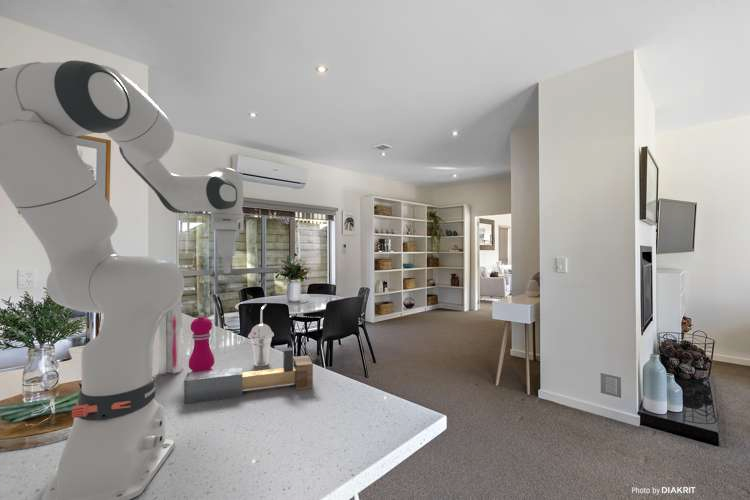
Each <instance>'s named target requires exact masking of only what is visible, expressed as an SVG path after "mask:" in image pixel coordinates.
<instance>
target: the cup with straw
mask: <svg viewBox="0 0 750 500" xmlns="http://www.w3.org/2000/svg"><path fill="white" fill-rule="evenodd" d="M267 305H268V304H267V303H264V304H263V306H262V307H261V308H260V314H259V315H260V317H259V318H260V319H259V320H260V321H259V322H260V323H258V324H256V325H254V326H253V327H252V328H251V331H250V333H249V334H248V335H247V338H248V339H250V343H251V344H250V345H251V348H252V357H253V364H254V367H264V366H267V365H268V364H269V359H270V350H271V343H272V338H273V337H274V336H275V334H274V332H273V331H272V328H271V327H270V325H269V324H267V323H263V310H264V309H265V308H266V306H267Z"/></svg>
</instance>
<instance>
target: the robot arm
mask: <svg viewBox="0 0 750 500" xmlns="http://www.w3.org/2000/svg"><path fill="white" fill-rule="evenodd" d="M92 134H105V135H106V136H108V137H109V138H110V139H112V141H114V143H116V145H118V146H119V147H118V148H119V152H120V155H121V157H122V158H123V159H124V161H125V162H126V164H127V165H128V167H130V168H131V170H133V171H134V172H135V173H136V174H137V175H138V177H140V178H141V179H142V180H143V181H144V182H145V183H146V184H147V185H148V187H150V188H151V190H152V191H153V192H154V193H155V194H156V195H157V197H158V199H159V200H160V202H161V204H162V205H163V206H164V208H166V209H167V210H169V211H170V212H172V213H174V214H175V213H176V214H180V213H189V212H210V213H211V214H210V218H211V219H210V221H211V223H210V224H211V225H210V226H211V228H210V230H211V231H215V237H216V245H217V253H218V256H219V258H222V265H223V267H222V268H223V273H224V274H230V273H231V271H232V270H233V259H234V257H235V255H236V240H237V239H236V238H237V237H240V232H243V231H244V228H245V227H244V226H245V225H244V219H245V218H244V212H243V211H244V210H243V204H244V186H243V185H244V184H243V179H242V175H241V173H240V172H239V171H237V170H236V169H233V168H229V167H225V166H224V167H220V166H219V167H216V168H214V170H213V171H212V172H211V173H208V174H200V175H179V174H174V173H172V172H171V171H169V169H168V168H167V167H166V166H165V164H163V162H162V161H161V159H162V158H164V157H165V156H166V155H167V154H168V152H169V151H170V150H171V148H172V146H173V143H174V140H175V131H174V126H173V125H172V123H171V121H170V119H169V117H167V115H166V114H165V113H164V112H163V111H162V110H161V109H160V107H159V106H158V105H157V104H156V103H155V102H154V101H153V100H152V99H151V98H150V97H149V96H148V95H147V93H145V92H144V91H143V90H142V89H141V88H140V87H138V85H137V84H135V83H134V82H133V81H132V80H130V79H129V78H128V77H126V75H124V74H123V73H121V72H120V71H119V70H117V69H116V68H114V67H112V66H108V65H104V64H103V65H101V64H97V63H94V62H90V61H84V60H67V61H65V62H61V61H60V62H59V61H58V62H54V61H53V62H52V61H51V62H50V61H49V62H41V61H34V62H28V63H22V64H16V65H14V66H10V67H0V186H1V188H2V190H3V191H4V193H5V194H6V196H7V197H8V199H9V200H10V201H11V203H12V205H13V206H14V207H15V209H16V210H17V211H18V212H19V214H20V216H21V217H22V218H23V220H24V221H25V222H26V224H27V225H28V226H29V228H30V229H31V230H32V232H33V233H34V235H35V236H36V237H37V239H38V240H39V242H40V243H41V246H42V247H43V249H44V251H45V253H46V255H47V258H48V261H49V264H50V268H51V270H50V272H49V274H48V277H47V279H46V292H47V295H48V297H49V298H50V299H51V300H52V301H53V302H54V303H55V304H57V305H59V306H61V307H65V308H66V309H69V310H73V311H76V312H82V313H97V314H103V320H102V324H101V327H100V330H99V332H98V334H97V336H95V337H94V338H92V339H91V340H89V341H88V342H87V343H86V344H85V345H84V347H83V348H82V350H81V355H80V358H81V359H80V361H81V368H80V369H81V389H80V390H79V392H78V396H77V397H78V399H77V401H76V404H75V405H74V406H73V407H72V410H71V417H72V419H73V423H72V426H71V428H70V432H69V434H68V436H67V440H66V442H65V445H64V448H63V451H62V454H61V456H60V459H59V461H58V463H57V465H56V468H55V470H54V471H53V474H52V476H51V478H50V480H49V483H48V484H47V486H46V489H45V491H44V492H43V495H42V497H41V499H40V500H132V499H134V498H135V497H138V496H140V495H141V494H142V493H143V491H144V490H145V489H146V487H147V486H148V485H149V483H150V482H151V480H152V479H153V478H154V476H155V475H156V473H157V472H159V471H158V470H159V469H160V468H161V467H162V465H163V463H164V462H166V460H167V458H168V457H169V455H170V454H171V452H173V450H174V449H175V447H176V444H175V441H174V439H170V438H166V437H167V436H166V422H165V419H166V418H165V408H164V406H163V405H162V404H160V403H159V402H158V401H157V400H156V398H155V397H156V387H157V385H156V384H157V383H156V380H155V377H154V376H153V353H154V342H155V336H156V333H157V330H158V326H159V323H160V322H161V320H162V318H163V317H164V315H165V314H166V313H167V312H168V311H169V310H171V309H172V308H173V307H174V306H175V305H176V304H177V303H178V302H179V300H180V299H181V298H182V296H183V294H184V291H185V278H184V275H183V273H182V271H181V268H180V267H179V266H178V265H176V264H175V263H173V262H171V261H168V260H164V259H161V258H156V257H151V256H122V255H120V254H118V253H117V252H116V251H115V249H114V248H113V245H112V240H111V237H112V236H113V235H114V233H115V231H116V230H117V227H118V225H119V220H118V217H117V214H116V213H115V212H114V209H113V208H112V206H111V204H110V203H109V201H108V200H107V197H106V196H105V194H104V192H103V190H102V188H101V187H100V185H99V184H98V182H97V180H96V178H95V177H94V175H93V174H92V172H91V171H90V169H89V168H88V166H87V165H86V163H85V162H84V159H82V157H81V156H80V155H79V152H78V151H79V150H78V145H77V137H79V136H87V135H92Z"/></svg>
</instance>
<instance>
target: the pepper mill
mask: <svg viewBox="0 0 750 500" xmlns="http://www.w3.org/2000/svg"><path fill="white" fill-rule="evenodd" d="M197 316H198V317H197V318H195V319H194V320H192V322H191V323H190V331H191V332H192V333H193V334H192V339H193V340H194V341H193V342H194V344H193V350H192V351H191V354H190V356H189V360H188V368H189V369H190V370H191V372H200V371H209V370H214V369H213V366H214V365H215V357H214V354H213V352H212V349H211V347H210V338H211V332H210V331H211V330H212V328H213V322H212V320H211V319H210V318H208V317H205V313H204V312H199V313H198V315H197Z"/></svg>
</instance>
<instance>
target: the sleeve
mask: <svg viewBox="0 0 750 500" xmlns="http://www.w3.org/2000/svg"><path fill="white" fill-rule="evenodd" d="M242 372H243V366H239V367H229V368H220V369H213V370H209V371H200V372H192V371H191V372H187V374H186V376H185V378H184V381H183V404H184V405H186V404H194V403H195V404H196V403H200V402H208V401H218V400H224V399H232V398H240V397H243V390H242Z"/></svg>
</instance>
